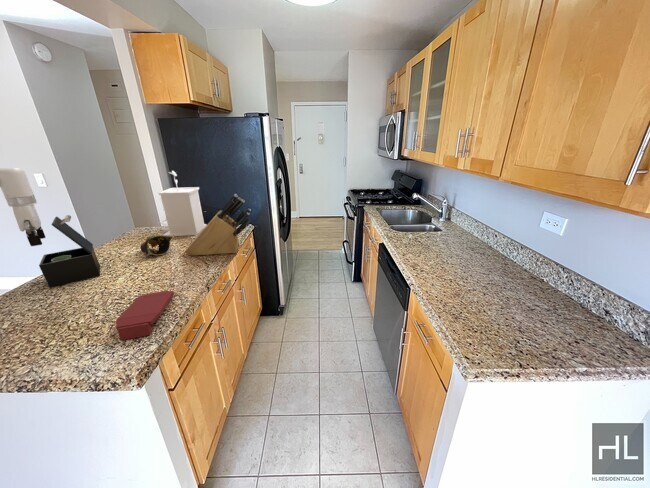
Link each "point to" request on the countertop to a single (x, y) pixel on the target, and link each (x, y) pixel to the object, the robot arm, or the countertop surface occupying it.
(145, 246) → the pot
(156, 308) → the carton
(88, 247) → the lid
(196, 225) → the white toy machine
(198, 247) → the knife block
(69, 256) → the cup
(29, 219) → the robot arm
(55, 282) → the box
